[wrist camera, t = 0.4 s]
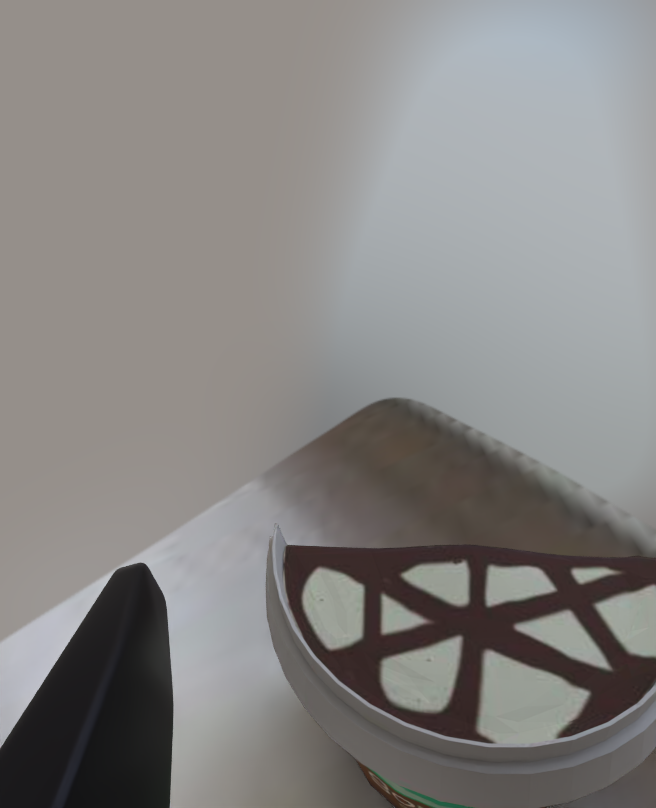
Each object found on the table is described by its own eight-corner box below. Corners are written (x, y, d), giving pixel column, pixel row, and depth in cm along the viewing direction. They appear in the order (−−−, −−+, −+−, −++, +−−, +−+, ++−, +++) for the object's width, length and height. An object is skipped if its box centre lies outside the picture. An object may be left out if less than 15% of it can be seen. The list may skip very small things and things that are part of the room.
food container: (273, 858, 19) (198, 751, 12) (301, 671, 23) (257, 522, 17) (674, 908, 17) (836, 813, 10) (616, 694, 21) (704, 535, 15)
